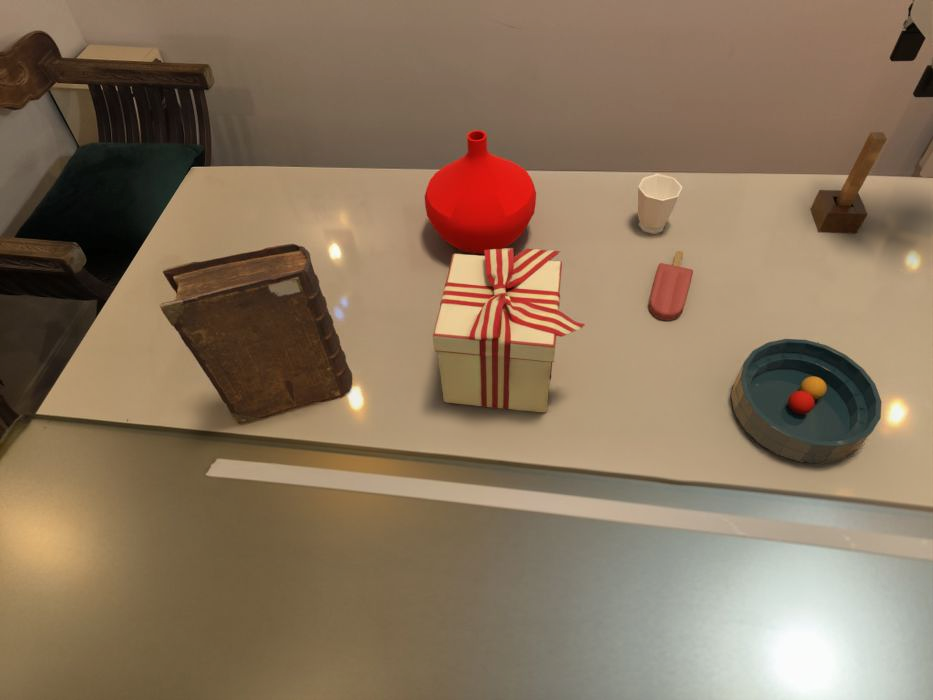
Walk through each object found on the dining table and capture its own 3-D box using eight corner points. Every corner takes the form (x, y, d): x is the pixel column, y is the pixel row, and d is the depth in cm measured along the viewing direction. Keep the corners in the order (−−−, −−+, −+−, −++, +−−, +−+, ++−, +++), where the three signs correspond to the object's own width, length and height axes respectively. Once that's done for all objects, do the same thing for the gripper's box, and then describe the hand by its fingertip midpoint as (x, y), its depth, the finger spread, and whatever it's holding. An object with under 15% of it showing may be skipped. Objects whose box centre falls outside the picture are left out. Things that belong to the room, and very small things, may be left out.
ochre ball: (830, 389, 77) (807, 376, 78) (816, 406, 79) (793, 393, 80) (832, 381, 80) (810, 369, 81) (819, 399, 81) (797, 386, 82)
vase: (433, 202, 112) (421, 105, 97) (533, 199, 111) (536, 101, 96) (425, 271, 101) (410, 174, 86) (536, 270, 99) (540, 170, 84)
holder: (847, 209, 104) (857, 190, 101) (857, 233, 100) (868, 213, 97) (810, 208, 105) (819, 189, 101) (818, 232, 101) (828, 212, 98)
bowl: (844, 364, 84) (860, 342, 80) (879, 470, 74) (899, 450, 70) (722, 358, 86) (732, 336, 82) (740, 460, 76) (753, 440, 72)
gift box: (578, 415, 82) (590, 333, 68) (442, 412, 83) (428, 332, 70) (572, 320, 92) (582, 233, 79) (452, 319, 94) (441, 233, 80)
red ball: (791, 390, 81) (806, 408, 80) (778, 401, 79) (793, 420, 79) (808, 383, 78) (824, 402, 78) (796, 395, 77) (811, 415, 76)
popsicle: (698, 251, 98) (682, 317, 89) (695, 258, 99) (680, 324, 90) (664, 244, 99) (646, 309, 91) (662, 251, 100) (644, 316, 92)
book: (353, 367, 89) (308, 238, 70) (356, 407, 85) (308, 281, 65) (239, 387, 88) (161, 261, 69) (236, 428, 84) (151, 306, 64)
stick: (838, 217, 103) (883, 132, 90) (841, 224, 102) (887, 139, 89) (827, 216, 103) (870, 132, 90) (830, 223, 102) (874, 138, 89)
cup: (632, 238, 103) (639, 200, 96) (628, 201, 109) (635, 162, 102) (674, 239, 102) (685, 200, 96) (668, 201, 108) (678, 162, 102)
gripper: (1060, -42, 63) (968, 111, 77) (991, -95, 74) (921, 47, 87) (981, -39, 64) (904, 111, 78) (924, -92, 75) (864, 48, 88)
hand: (913, 77), depth 82 cm, fingers open, 9 cm apart
